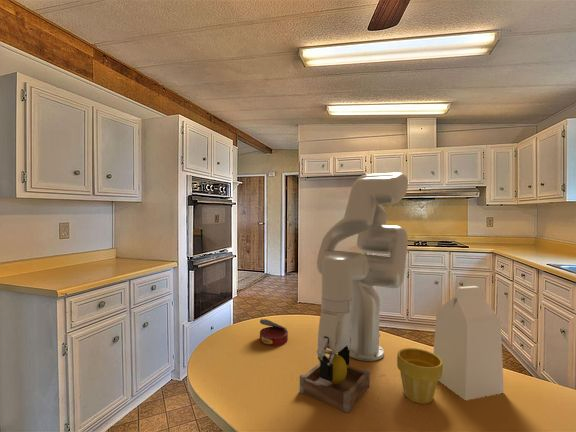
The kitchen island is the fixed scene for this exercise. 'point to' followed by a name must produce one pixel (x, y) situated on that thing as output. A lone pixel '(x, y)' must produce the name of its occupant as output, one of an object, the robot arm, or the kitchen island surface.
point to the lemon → (338, 369)
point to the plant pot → (419, 373)
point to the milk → (469, 345)
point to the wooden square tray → (336, 387)
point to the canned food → (273, 334)
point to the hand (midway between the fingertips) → (335, 370)
